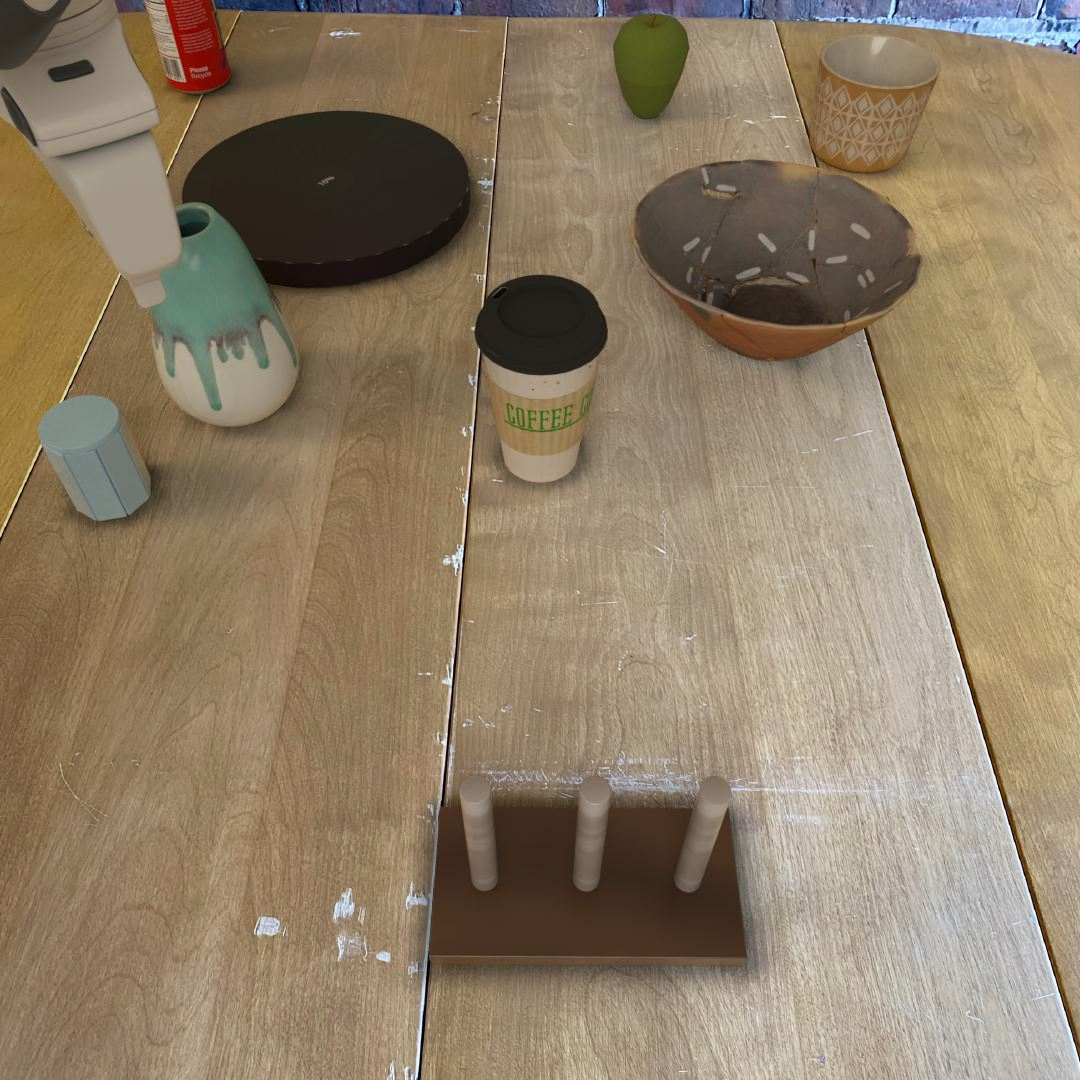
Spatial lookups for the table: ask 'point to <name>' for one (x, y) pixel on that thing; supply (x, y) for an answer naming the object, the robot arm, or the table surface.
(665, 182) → the bowl
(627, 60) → the apple
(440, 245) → the disc
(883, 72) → the planter
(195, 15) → the soda can
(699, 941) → the cup rack
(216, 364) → the vase
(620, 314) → the table surface
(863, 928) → the table surface
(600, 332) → the coffee cup
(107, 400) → the blue cup
